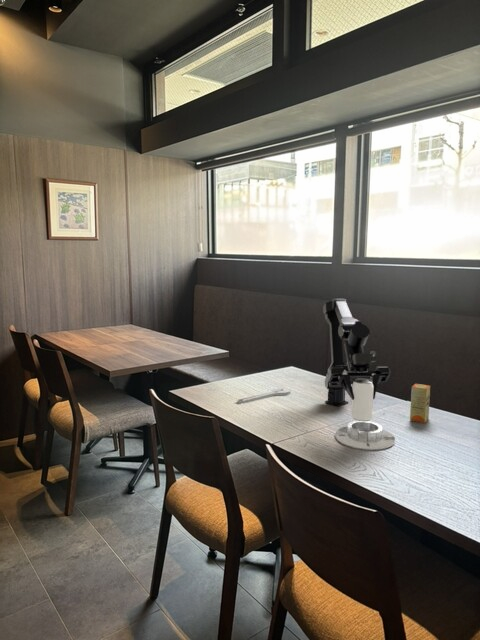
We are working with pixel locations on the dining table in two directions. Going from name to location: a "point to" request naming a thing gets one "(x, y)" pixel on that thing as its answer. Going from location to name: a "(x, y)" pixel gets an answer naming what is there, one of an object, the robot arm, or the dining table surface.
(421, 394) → the shoe polish box
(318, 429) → the dining table surface
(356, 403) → the can
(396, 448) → the dining table surface
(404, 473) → the dining table surface
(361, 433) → the rosette
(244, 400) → the adjustable wrench
